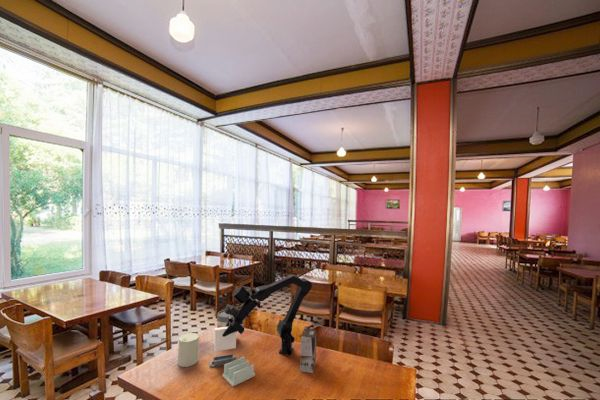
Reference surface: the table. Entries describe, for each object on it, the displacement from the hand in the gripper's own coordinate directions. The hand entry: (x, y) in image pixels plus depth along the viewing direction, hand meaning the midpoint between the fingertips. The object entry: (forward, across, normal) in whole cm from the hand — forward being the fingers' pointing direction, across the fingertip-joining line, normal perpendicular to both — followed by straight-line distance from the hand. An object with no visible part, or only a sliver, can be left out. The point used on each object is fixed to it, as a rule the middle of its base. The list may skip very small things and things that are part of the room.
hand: (222, 335), depth 126 cm
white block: (+4, 0, +6) cm, 7 cm away
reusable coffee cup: (+6, -23, +14) cm, 27 cm away
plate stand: (+9, 0, +10) cm, 14 cm away
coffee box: (-17, +16, +37) cm, 44 cm away
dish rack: (+5, +12, +14) cm, 19 cm away
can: (+20, -7, -1) cm, 22 cm away
